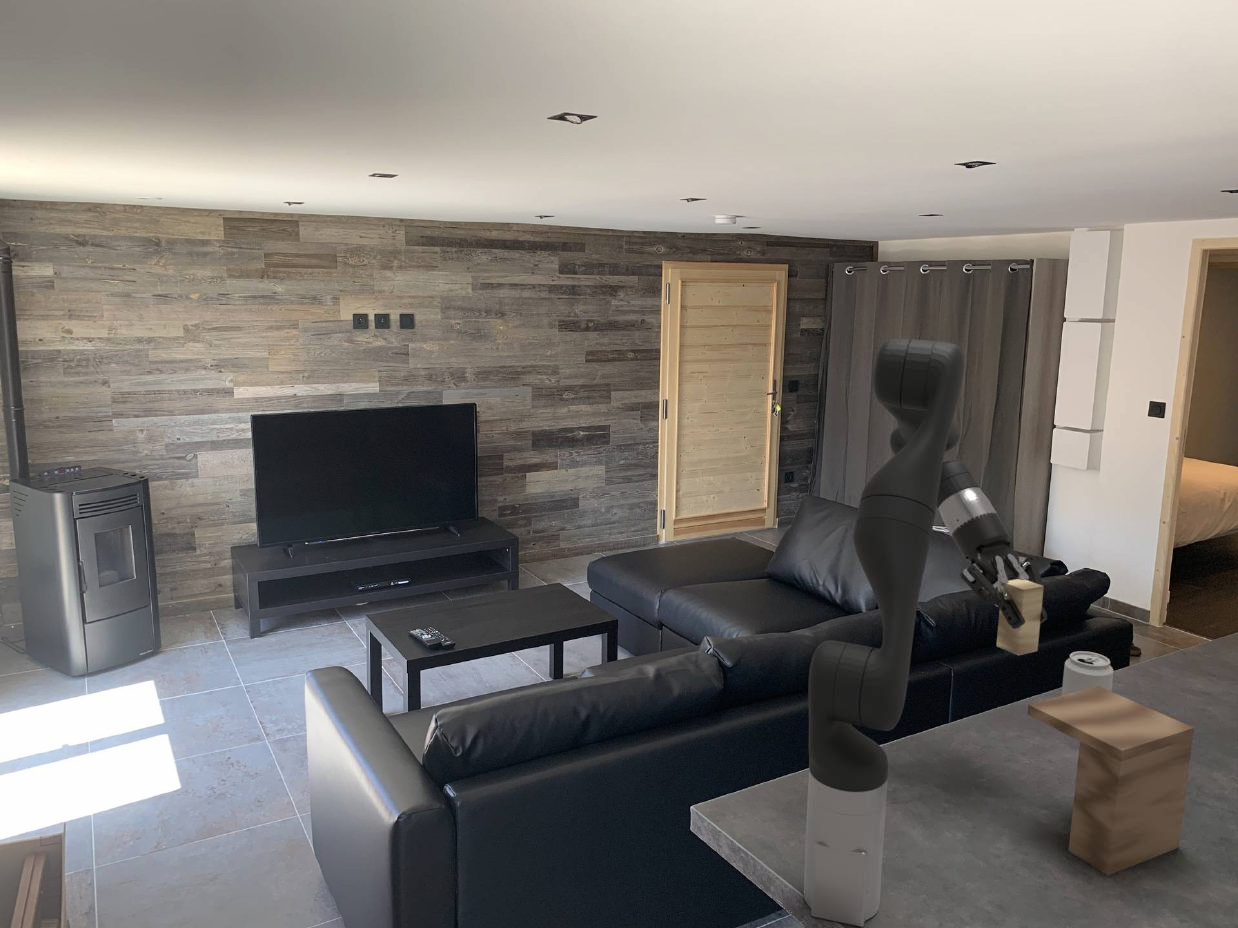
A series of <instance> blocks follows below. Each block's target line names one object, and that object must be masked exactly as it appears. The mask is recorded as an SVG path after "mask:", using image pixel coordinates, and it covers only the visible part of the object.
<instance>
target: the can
mask: <svg viewBox="0 0 1238 928" xmlns="http://www.w3.org/2000/svg"><path fill="white" fill-rule="evenodd" d="M1113 680H1114V669H1113V667H1112V666H1111V661H1110V658H1108V657H1107V656H1104V655H1103V654H1099V653H1096V652H1093V651H1092V652H1091V651H1081V650H1080V651H1079V650H1078V651H1073V652H1072V653H1070V654H1069V658H1067V659H1066V661H1064V668H1063V678H1062V688H1061V696H1062V695H1065V694H1069V693H1073V692H1077V691H1080V690H1084V689H1088V688H1091V687H1095V686H1100V687H1102V688H1104V689H1106V690H1109V691H1111V692H1112V690H1113V689H1112V688H1113Z"/></svg>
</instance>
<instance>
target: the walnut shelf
mask: <svg viewBox="0 0 1238 928" xmlns="http://www.w3.org/2000/svg"><path fill="white" fill-rule="evenodd" d="M1027 706H1028V707H1027V715H1028V716H1029V717H1031V718H1034V719H1036V720H1038V721H1040V722H1041V723H1043V724H1045V725H1047V726H1049V727H1051V728H1053V729H1056V730H1057V731H1059V732H1061V733H1063V734H1065V735H1067V736H1070V738H1073V739H1075V740H1077V741H1079V747H1078V757H1077V767H1076V774H1075V775H1076V776H1075V785H1074V795H1073V805H1072V816H1071V824H1070V835H1069V843H1068V852H1070V853H1071V854H1073V855H1074V856H1076V857H1078V858H1079V859H1081V860H1083V861H1084V862H1086V863H1088V865H1090V866H1092V867H1093V868H1095V869H1097V870H1098V871H1100V872H1101V873H1103V874H1105V875H1106V876H1111V875H1114V874H1115V873H1119V872H1121V871H1123V870H1126V869H1128V868H1130V867H1131V868H1132V867H1133V866H1136V865H1139V864H1141V863H1143V862H1146V861H1149V860H1151V859H1153V858H1156V857H1159V856H1161V855H1163V854H1166V853H1169V852H1171V851H1174V850H1176V849H1179V847H1180V839H1181V833H1182V824H1183V818H1184V816H1183V815H1184V809H1185V803H1186V802H1185V801H1186V794H1187V785H1188V779H1189V771H1190V762H1191V755H1192V748H1193V747H1192V746H1193V741H1194V734H1195V733H1194V731H1195V727H1194V726H1191V725H1189V724H1186V723H1184V722H1182V721H1179V720H1178V719H1175V718H1173V717H1170V716H1168V715H1166V714H1164V713H1162V712H1159V711H1157V710H1154V709H1152V708H1149V707H1148V706H1145V705H1142V704H1141V703H1138V702H1136V701H1134V700H1132V699H1129V698H1128V697H1125V696H1122V695H1119V694H1118V693H1115V692H1113V691H1112V690H1111V691H1109V690H1106V689H1104V688H1102V687H1100V686H1095V687H1091V688H1088V689H1084V690H1080V691H1077V692H1073V693H1069V694H1065V695H1062V694H1061V695H1058V696H1055V697H1051V698H1047V699H1044V700H1040V701H1036V702H1033V703H1029V704H1028V705H1027Z"/></svg>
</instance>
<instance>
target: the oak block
mask: <svg viewBox="0 0 1238 928" xmlns="http://www.w3.org/2000/svg"><path fill="white" fill-rule="evenodd" d="M1008 582H1009V583H1006V588H1007V589H1008V591H1009V593H1010V595H1011V599H1010V600H1013V601H1014V603H1015V604H1016V606H1017V608H1018V610H1019V611H1020V613H1021V615H1022V616H1023V618H1024V619H1025V624H1023V625H1022V626H1020V627H1019V628H1016V629H1013V628H1012V627H1011V626H1010V625H1009V624H1008V622H1007V621H1006V619H1005V616H1004V615H1003V613H1002V612H1001V610H1000V609H999V611H998V612H999V615H998V623H997V624H998V625H997V637H996V647H997V648H1000V649H1002V650H1005V651H1006V652H1009V653H1011V654H1013V655H1017V656H1022V655H1027V654H1030V653H1034V652H1038V648H1039V638H1040V630H1041V629H1040V628H1041V623H1040V617H1041V609H1042V606H1043V600H1044V599H1043V597H1044V589H1045V587H1044V585H1043V586H1042V585H1039V584H1036V583H1034V582H1033V581H1032V582H1030V581H1028V580H1022V579H1019V578H1016V579H1015V580H1010V581H1008Z"/></svg>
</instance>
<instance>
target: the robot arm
mask: <svg viewBox="0 0 1238 928" xmlns="http://www.w3.org/2000/svg"><path fill="white" fill-rule="evenodd" d="M964 357H965V356H964V352H963V350H962V349H961V347H960V346H959V345H957V344H955V343H952V342H946V341H937V340H926V339H915V338H912V339H911V338H903V337H902V338H891V339H888V340H886V341H884V343H883V344H882V345H881V346H880V348H879V350H878V352H877V356H876V360H875V365H874V369H873V391H874V395H875V397H876V399H877V400H878V402H879V403H880V404H881V406H882V407H883V408H884V409H886V411H888V413H890V415H892V416H893V417H894V418H895V420H896V422H897V427H896V428H894V429H893V430H892V432H891V433H890V437H889V445H890V448H891V450H892V453H893V454H894V455H893V456H892V457H891V458H890V459H889V460H888V461H887V462H886V463H885V464H883V465H882V466H881V467H880V468H879V469H878V471H877V472H875V473H874V474H873V475H872V476H871V478H870V479H869V480H868V482H867V483H866V485H865V486H864V488H863V490H862V492H861V495H860V501H859V506H858V509H857V514H856V519H855V524H854V529H853V533H852V536H853V537H852V538H853V539H852V540H853V545H854V548H855V553H856V555H857V558H858V560H859V564H860V565H861V568H862V571H863V573H864V574H865V576H866V579H867V581H868V582H869V583H868V584H869V585H870V587H871V590H872V593H873V595H874V597H875V600H876V604H877V606H878V610H879V613H880V617H881V623H882V643H881V647H880V648H878V647H872V646H867V645H863V644H862V645H861V644H855V643H851V642H845V641H840V640H833V639H827V640H823V641H822V642H821V643H819V645H818V646H817V648H815V650H814V653H813V655H812V658H811V661H810V666H809V672H808V675H809V676H808V689H807V690H808V692H807V693H808V696H807V697H808V756H809V761H808V783H807V784H808V787H807V806H806V826H805V827H806V829H805V848H804V850H805V851H804V872H803V873H804V875H803V898H804V900H805V903H806V905H807V906H808V907H809V908H810V910H811V911H810V913H811V914H810V915H811V916H812V917H814V918H818V919H823V920H829V921H833V922H839V923H843V924H846V925H852V926H857V927H864V926H865V923H866V921H867V920H869V919H871V918H873V917H874V916H875V915H876V914H877V913H878V911H879V909H880V903H881V901H880V900H881V888H882V887H881V886H882V871H883V870H882V868H883V853H884V852H883V851H884V838H885V823H886V822H885V820H886V819H885V818H886V802H887V793H888V792H887V791H888V789H887V788H888V777H889V776H888V774H889V773H888V772H889V758H888V755H887V753H886V751H885V750H884V749H883V747H881V745H880V744H878V743H877V742H876V741H874V740H873V739H871V738H870V737H868V736H866V735H865V734H863V733H862V732H861V731H859V730H858V729H856V728H855V727H854V726H857V727H858V726H859V727H863V728H867V729H871V730H876V731H877V730H878V731H884V732H886V731H887V732H889V731H891V730H893V729H894V728H895V727H896V726H897V724H898V723H899V721H900V719H901V717H902V714H903V710H904V706H905V702H906V697H907V691H908V683H909V682H908V681H909V675H910V666H911V660H912V659H911V656H912V648H913V640H914V632H915V623H916V616H917V615H916V614H917V608H918V601H919V597H920V595H919V594H920V591H921V586H922V582H923V576H924V572H925V569H926V563H927V558H928V554H929V550H930V549H929V548H930V545H931V541H932V533H933V529H934V523H935V517H936V513H937V512H936V511H937V510H938V512H939V513H940V516H941V519H942V521H943V523H944V525H945V527H946V529H947V530H948V532H949V535H950V536H951V538H952V539H953V542H954V544H955V545H956V547H957V548H958V551H959V553H960V554H961V555H962V557H963V559H964V560H965V561H967V562H970V564H969V565H968V566H967V567H966V568H965V569H963V570H962V571H961V572H960V574H959V576H960V578H961V579H962V580H963V581H964V582H965V583H966V585H968V586H969V588H970V589H971V590H972V591H973V592H974V593H975V595H977V597H978V598H979V600H981V602H982V603H983V604H985V605H986V606H990V604H991V605H994V606H996V607H997V608H999V611H1000V610H1001V612H1002V613H1003V615H1004V616H1005V619H1006V621H1007V622H1008V624H1009V625H1010V626H1011V627H1012V628H1013V629H1016V628H1019V627H1020V626H1022V625H1023V624H1025V619H1024V618H1023V616H1022V615H1021V613H1020V611H1019V610H1018V608H1017V606H1016V604H1015V603H1014V601H1013V600H1010V599H1011V595H1010V593H1009V591H1008V589H1007V588H1006V583H1009V582H1008V581H1010V580H1015V579H1022V580H1028V581H1030V582H1033V583H1036V584H1039V585H1042V586H1044V583H1043V580H1042V577H1041V574H1040V573H1041V572H1040V569H1039V567H1038V564H1037V560H1036V558H1035V556H1034V555H1032V554H1028V555H1027V556H1026V557H1024V556H1019V554H1018V553H1017V552H1016V551H1015V550H1014V549H1013V548H1012V546H1011V543H1010V542H1011V534H1010V533H1009V531H1008V530H1007V528H1006V526H1005V524H1003V521H1002V520H1001V517H1000V516H999V514H998V513H997V511H996V510H995V508H994V506H993V505H992V503H991V501H990V500H989V498H988V497H987V496H986V495H985V494H984V492H983V491H982V490H981V487H980V486H979V484H978V483H977V481H976V480H975V478H974V476H973V475H972V473H971V471H970V469H969V468H968V466H967V464H965V462H963V461H962V460H958V459H953V460H947V461H944V458H945V453H946V452H948V451H950V450H952V449H953V448H955V446H956V445H957V444H958V442H959V436H960V433H959V430H958V426H957V425H956V423H955V421H954V417H955V413H956V408H957V404H958V402H959V401H958V400H959V396H960V392H961V388H962V384H963V383H962V382H963V379H964V378H963V377H964V369H965V360H964V359H965V358H964ZM983 588H984V589H985V590H984V589H983ZM985 591H986V592H987V593H988V594H987V593H986V592H985ZM1047 614H1048V613H1047V611H1046V609H1045V607H1044V606H1043V605H1042V609H1041V617H1040V624H1042V623H1044V622H1045V621H1047V619H1048V615H1047ZM853 725H854V726H853Z"/></svg>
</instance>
